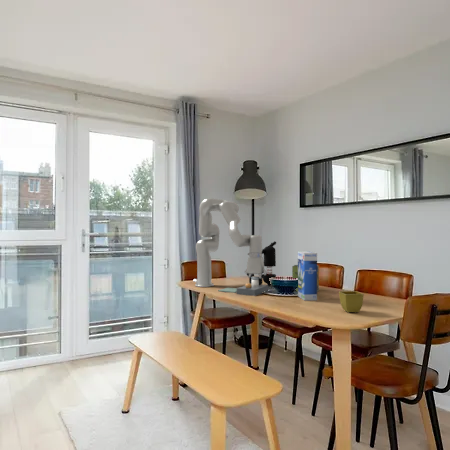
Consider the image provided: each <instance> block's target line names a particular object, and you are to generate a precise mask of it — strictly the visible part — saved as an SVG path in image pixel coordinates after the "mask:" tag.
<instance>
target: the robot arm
mask: <svg viewBox="0 0 450 450" xmlns="http://www.w3.org/2000/svg"><path fill="white" fill-rule="evenodd" d="M198 210H199V219H198V220H199V221H198V222H199V223H198V235H199V236H200V237H201V238H204V239H199V240H198V241H197V242H196V243H195V251H196V259H197V261H196V263H197V265H196V266H197V268H196V269H197V272H196V273H197V275H196V276H197V278H194V279H193V283H195V284H194V286H195V287H198V288H209V287H214V286H215V284H214V283H212V257H211V254H212V253H216V252H217V251H218V249H219V245H220V227H219V226H218V225H217V224H216V223H212V222H213V216H212V213H211V212H220V213H221V214H222V216H223V218H224V220H225V221H226V223H227V226H228V234H229V237H230V239H231V241H232V243H234V245H235V246H236V247H238V248H249V252H248V253H247V255H248V257H247V261H246V263H247V264H246V269H245V270H244V273H245V274H246V276H247V277H248V279H249V280H248V281H249V282H248V283H250V284H251V277H254V275H258V277H259V278H260V279H259V285H263V277H264V276H265V275H266V274H268V271H267V269H265V266H264V256H263V254H262V249H263V247H262V246H263V244H262V240H263V239H262V236H261V235H260V234H259V235H257V234H253V235H252V234H251V235H250V234H242V233H241V232H240V230H239V228H238V225H239V223H240V222H241V218H240V216H239V215H238V212H239V205H238V203H236V202H235V201H232V200H231V201H230V200H226V199H223V198H222V199H221V198H213V197H211V198H210V197H209V198H205V199H203V200H202V201H201V202H200V204H199V209H198ZM210 253H211V254H210ZM262 256H263V257H262Z"/></svg>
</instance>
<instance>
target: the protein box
mask: <svg viewBox="0 0 450 450" xmlns="http://www.w3.org/2000/svg"><path fill="white" fill-rule="evenodd" d="M319 267H320V266H319V265H318V264H317V293H318V292H319V290H320V283H319V281H320V278H319V273H320V272H319V271H320V270H319ZM291 269H292V278H298V264H294V265H292V268H291ZM295 292H298V288H297V289H296V291H295Z"/></svg>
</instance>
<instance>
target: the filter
mask: <svg viewBox="0 0 450 450" xmlns="http://www.w3.org/2000/svg"><path fill="white" fill-rule="evenodd" d="M276 244H277V241H273V242H270V244H268V246H265V247H264V248H262V255H263V262H264V267H266V269H267V274H266V275H265V276H264V277H263V278H262V282H264V283H265V284H266V285H269V287H271V286H272V284H270V281H269V278H271V277H276V278H277V275H276V274H275V273H272V269H273V267H276V266H277V263H276V261H277V260H276V258H277V257H276V255H277V254H276V248H275V247H274V246H275V245H276Z"/></svg>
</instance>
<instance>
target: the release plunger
mask: <svg viewBox="0 0 450 450" xmlns="http://www.w3.org/2000/svg"><path fill="white" fill-rule="evenodd" d="M245 286H246V288H248V289H250V288H251V287H252V284H250V283H249V282H248V283H245Z"/></svg>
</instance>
